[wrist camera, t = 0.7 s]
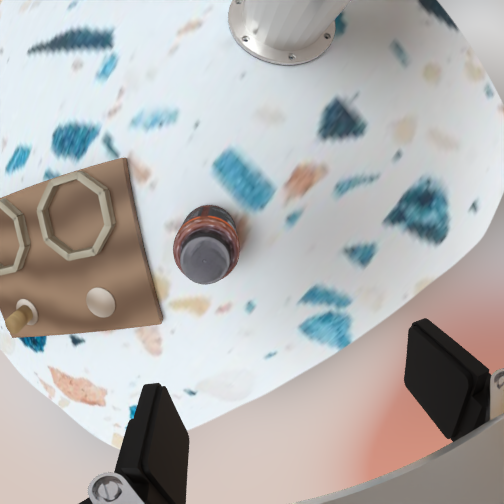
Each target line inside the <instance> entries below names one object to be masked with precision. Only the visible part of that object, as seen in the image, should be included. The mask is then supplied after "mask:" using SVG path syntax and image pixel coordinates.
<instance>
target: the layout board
mask: <svg viewBox="0 0 504 504" xmlns="http://www.w3.org/2000/svg"><path fill="white" fill-rule="evenodd" d="M0 310H1V313H2V315H3V318H4V320H5V324H6V327H7V329H8V330H9V332H10V334H11V336H12V338H16V337H34V336H49V335H63V334H75V333H86V332H97V331H107V330H116V329H125V328H134V327H142V326H150V325H158V324H161V323H162V320H163V316H162V313H161V310H160V306H159V303H158V299H157V296H156V292H155V288H154V285H153V281H152V277H151V273H150V270H149V266H148V262H147V258H146V254H145V249H144V245H143V241H142V237H141V232H140V228H139V223H138V219H137V214H136V209H135V204H134V199H133V194H132V189H131V183H130V178H129V172H128V166H127V160H126V158H120V159H116V160H112V161H109V162H105V163H101V164H98V165H94V166H91V167H88V168H84V169H81V170H78V171H74V172H71V173H68V174H65V175H62V176H59V177H56V178H53V179H50V180H47V181H44V182H42V183H39V184H36V185H33V186H30V187H28V188H25V189H22V190H20V191H17V192H15V193H12V194H10V195H7V196H5V197H2V198H0Z"/></svg>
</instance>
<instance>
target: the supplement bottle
mask: <svg viewBox="0 0 504 504" xmlns="http://www.w3.org/2000/svg"><path fill="white" fill-rule="evenodd" d="M239 252H240V247H239V240H238V236H237V232H236V227H235V224H234V221H233V219H232V218H231V216H230V215H229V214H228V213H227V212H226V211H225V210H224V209H222V208H220V207H217V206H213V205H206V206H201V207H198V208H197V209H195V210H193V211H192V212H191V213H190V214H189V215H188V216H187V218H186V219H185V221H184V223H183V224H182V226H181V228H180V230H179V231H178V233H177V235H176V237H175V241H174V246H173V254H174V259H175V262H176V264H177V266H178V268H179V269H180V270H181V272H182V273H184V275H186V276H187V277H188V278H189V279H190V280H192V281H193V282H196V283H199V284H211V283H215V282H217V281H219V280H221V279H223V278H224V277H226V276H227V275H228V274H229V273H231V271H232V270H233V269H234V267H235V266H236V264H237V261H238V259H239Z"/></svg>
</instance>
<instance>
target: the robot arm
mask: <svg viewBox="0 0 504 504" xmlns="http://www.w3.org/2000/svg"><path fill="white" fill-rule="evenodd" d="M350 1H351V0H233V1H232V3H231V5H230V8H229V13H228V22H229V28H230V30H231V33H232V35H233V37H234V38H235V40H236V41H237V42H238V44H239V45H240V46H241V47H242V48H243V49H244V50H246V51H247V52H249V53H250V54H252V55H253V56H255V57H257V58H259V59H261V60H263V61H267V62H270V63H274V64H281V65H296V64H302V63H306V62H308V61H311V60H313V59H315V58H317V57H318V56H320V55H321V54H322V53H323V52H324V51H325V50H326V49H327V48H328V47H329V46H330V44H331V42H332V41H333V38H334V34H335V20H334V19H335V18H336V17H337V16H338V15H339V14H340V13H341V11H342V10H343V9H344V8H345V7H346V6H347V5H348V4H349V3H350ZM325 37H326V38H327V39H326V38H325ZM244 40H247V41H248V42H244ZM289 57H291V58H292V59H293V60H291V59H289ZM406 358H407V359H406V368H405V376H404V382H405V385H406V387H407V388H408V390H409V391H410V392H411V394H412V395H413V396H414V397H415V399H416V400H417V401H418V402H419V404H420V405H421V406H422V407H423V409H424V410H425V411H426V412H427V414H428V415H429V416H430V418H431V419H432V420H433V421H434V423H435V424H436V425H437V427H438V428H439V429H440V431H441V432H442V433H443V434H444V436H445V437H446V438H447V439H450V438H451V440H452V441H453V442H452V443H451V444H449V445H447V446H445V447H443V448H441V449H440V450H438V451H436V452H434V453H432V454H430V455H428V456H426V457H424V458H422V459H420V460H418V461H416V462H413V463H411V464H409V465H407V466H405V467H402V468H400V469H398V470H395V471H393V472H390V473H388V474H386V475H383V476H381V477H378V478H375V479H373V480H370V481H367V482H365V483H362V484H359V485H356V486H353V487H350V488H347V489H344V490H341V491H338V492H334V493H331V494H327V495H324V496H320V497H316V498H312V499H308V500H304V501H300V502H296V503H291V504H504V368H503V369H499V370H497V371H495V372H494V373H493V374H492V375H491V374H490V373H489V369H488V368H487V367H486V366H484V365H483V364H482V363H481V362H480V361H478V360H477V359H476V358H475V357H474V356H472V355H471V354H470V353H469V352H468V351H466V350H465V349H464V348H463V347H462V346H460V345H459V344H458V343H457V342H455V341H454V340H453V339H452V338H451V337H449V336H448V335H447V334H446V333H444V332H443V331H442V330H441V329H439V328H438V327H437V326H436V325H434V324H433V323H432V322H431V321H429V320H428V319H426V318H424V319H422V320H419V321H416V322H414V323H412V326H411V327H410V329H409V332H408V345H407V357H406ZM188 453H189V436H188V433H187V430H186V428H185V426H184V424H183V422H182V420H181V418H180V416H179V414H178V412H177V410H176V408H175V406H174V404H173V401H172V399H171V397H170V395H169V393H168V390H167V388H166V387H165V386H161V385H160V383H154V384H145V385H144V386H143V389H142V392H141V395H140V398H139V402H138V405H137V408H136V412H135V415H134V419H131V420H130V421H129V423H128V426H127V429H126V432H125V436H124V439H123V443H122V446H121V450H120V453H119V457H118V461H117V464H116V468H115V471H114V473H111V472H108V473H103V474H100V475H98V476H97V477H95V478H94V479H93V480H92V482H91V483H90V485H89V487H88V495H89V498H87V499H86V500H84V501H82V502H81V503H79V504H186V485H187V467H188Z"/></svg>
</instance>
